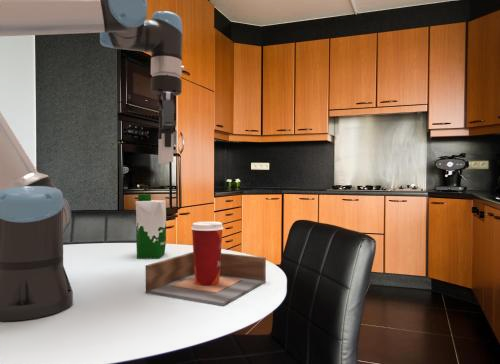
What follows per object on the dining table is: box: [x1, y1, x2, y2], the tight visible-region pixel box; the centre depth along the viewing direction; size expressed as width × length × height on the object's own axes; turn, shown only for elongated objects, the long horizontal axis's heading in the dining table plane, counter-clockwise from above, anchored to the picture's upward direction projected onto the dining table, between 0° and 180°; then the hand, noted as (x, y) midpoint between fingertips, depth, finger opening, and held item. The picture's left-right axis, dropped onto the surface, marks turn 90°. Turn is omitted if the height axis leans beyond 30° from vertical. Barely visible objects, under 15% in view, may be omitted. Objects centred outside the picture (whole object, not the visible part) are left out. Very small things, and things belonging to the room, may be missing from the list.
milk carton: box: [135, 193, 167, 259], centre depth 127 cm, size 9×9×20 cm
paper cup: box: [190, 220, 224, 286], centre depth 93 cm, size 8×8×14 cm
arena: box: [145, 251, 267, 307], centre depth 92 cm, size 20×20×6 cm
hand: (165, 162), depth 99 cm, fingers open, 13 cm apart
